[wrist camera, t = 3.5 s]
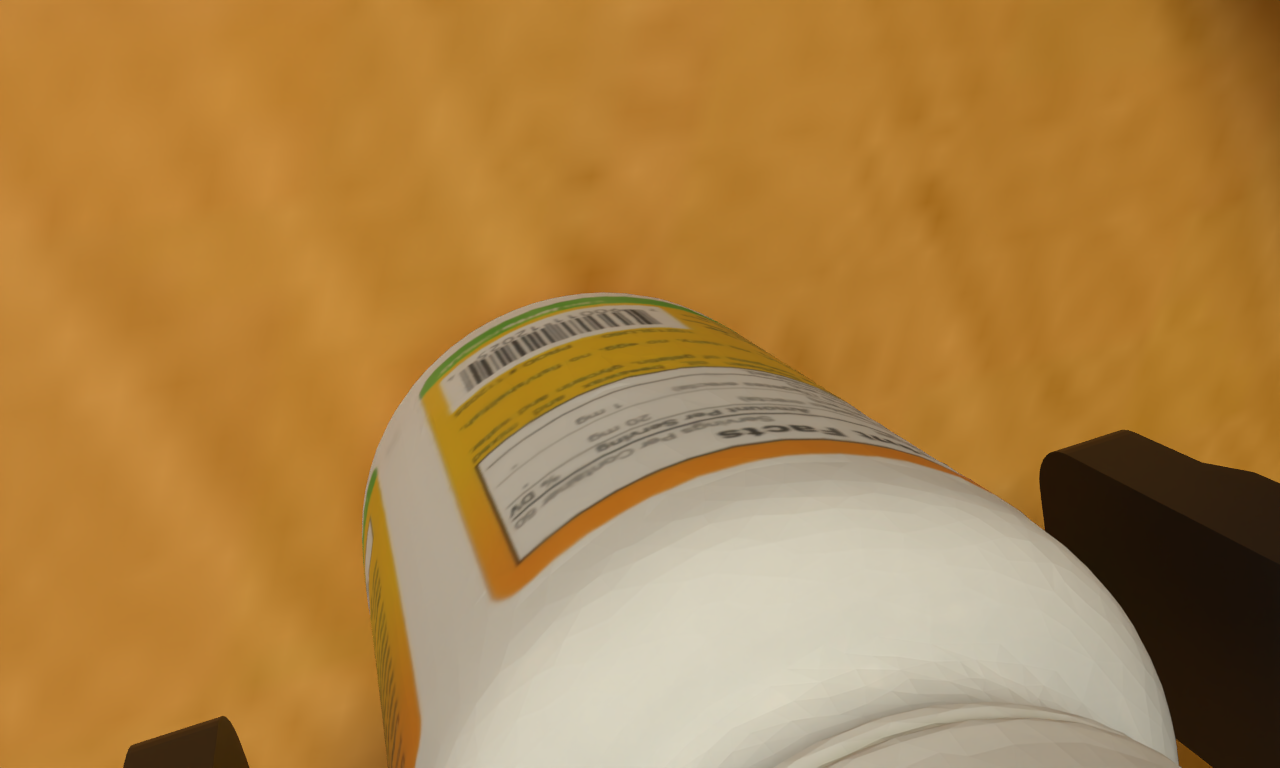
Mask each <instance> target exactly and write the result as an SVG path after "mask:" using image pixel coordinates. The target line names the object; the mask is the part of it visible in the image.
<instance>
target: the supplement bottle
mask: <svg viewBox="0 0 1280 768" xmlns="http://www.w3.org/2000/svg"><path fill="white" fill-rule="evenodd" d="M362 543H363V563H364V575H365V583H366V591H367V598H368V606H369V612H370V621H371V628H372V635H373V642H374V651H375V659H376V667H377V674H378V684H379V692H380V701H381V709H382V717H383V726H384V735H385V744H386V753H387V763H388V768H1182V767H1180V766H1179V762H1178V754H1177V746H1176V739H1175V734H1174V730H1173V725H1172V720H1171V716H1170V712H1169V708H1168V705H1167V701H1166V698H1165V694H1164V691H1163V687H1162V685H1161V683H1160V680H1159V678H1158V675H1157V673H1156V670H1155V668H1154V666H1153V663H1152V661H1151V658H1150V656H1149V654H1148V653H1147V651H1146V649H1145V647H1144V645H1143V643H1142V641H1141V639H1140V637H1139V636H1138V634H1137V632H1136V630H1135V628H1134V626H1133V624H1132V623H1131V621H1130V620H1129V618H1128V617H1127V615H1126V614H1125V612H1124V611H1123V609H1122V607H1121V606H1120V605H1119V603H1118V602H1117V601H1116V600H1115V598H1114V597H1113V596H1112V595H1111V593H1110V592H1109V591H1108V590H1107V589H1106V588H1105V587H1104V585H1103V584H1102V583H1101V582H1100V581H1099V580H1098V579H1097V578H1096V576H1095V575H1094V574H1093V573H1092V572H1091V571H1090V570H1089V569H1088V567H1087V566H1086V565H1084V564H1083V563H1082V562H1081V561H1080V560H1079V559H1078V558H1077V557H1076V556H1075V555H1074V554H1073V553H1072V552H1070V551H1069V550H1068V549H1067V548H1066V547H1065V546H1064V545H1063V544H1061V543H1060V542H1059V541H1057V540H1056V539H1055V538H1053V537H1052V536H1051V535H1049V534H1048V533H1047V532H1045V531H1044V530H1043V529H1041V528H1040V527H1039V526H1037V525H1036V524H1035V523H1033V522H1032V521H1031V520H1030V519H1028V518H1027V517H1026V516H1025V515H1024V514H1023V513H1022V512H1020V511H1019V510H1018V509H1016V508H1015V507H1013V506H1011V505H1010V504H1008V503H1007V502H1005V501H1004V500H1002V499H1001V498H999V497H997V496H996V495H994V494H993V493H991V492H989V491H988V490H986V489H985V488H983V487H981V486H980V485H978V484H977V483H975V482H974V481H972V480H971V479H969V478H967V477H965V476H963V475H961V474H959V473H957V472H956V471H954V470H953V469H952V468H950V467H949V466H947V465H946V464H944V463H941V462H939V461H938V460H936V459H934V458H932V457H931V456H929V455H928V454H926V453H925V452H923V451H922V450H920V449H918V448H917V447H915V446H914V445H912V444H911V443H909V442H907V441H906V440H904V439H903V438H901V437H899V436H898V435H896V434H894V433H893V432H891V431H890V430H888V429H887V428H885V427H884V426H882V425H881V424H879V423H877V422H876V421H874V420H872V419H870V418H869V417H867V416H866V415H864V414H863V413H861V412H860V411H859V410H857V409H856V408H854V407H853V406H851V405H850V404H848V403H847V402H846V401H844V400H842V399H841V398H839V397H837V396H835V395H834V394H832V393H830V392H829V391H827V390H826V389H824V388H823V387H821V386H819V385H817V384H816V383H815V382H813V381H812V380H810V379H809V378H807V377H806V376H804V375H802V374H801V373H799V372H797V371H796V370H794V369H792V368H791V367H790V366H788V365H786V364H785V363H783V362H781V361H780V360H778V359H777V358H775V357H774V356H772V355H771V354H769V353H767V352H766V351H764V350H763V349H761V348H759V347H758V346H756V345H755V344H753V343H752V342H750V341H748V340H747V339H745V338H744V337H742V336H740V335H739V334H737V333H736V332H734V331H732V330H731V329H729V328H727V327H725V326H723V325H722V324H720V323H718V322H716V321H714V320H712V319H711V318H709V317H707V316H705V315H703V314H701V313H699V312H696V311H694V310H691V309H689V308H687V307H684V306H682V305H678V304H675V303H672V302H669V301H666V300H662V299H658V298H653V297H646V296H639V295H633V294H626V293H584V294H577V295H569V296H563V297H558V298H553V299H548V300H544V301H540V302H537V303H533V304H530V305H527V306H524V307H522V308H519V309H516V310H514V311H511V312H509V313H507V314H505V315H503V316H500V317H498V318H496V319H494V320H492V321H490V322H488V323H486V324H485V325H483V326H481V327H480V328H478V329H476V330H475V331H473V332H471V333H470V334H468V335H467V336H466V337H464V338H463V339H462V340H460V341H459V342H458V343H456V344H455V345H454V346H452V347H451V348H450V349H449V350H447V351H446V352H445V353H444V354H443V355H442V356H441V357H440V358H438V359H437V360H436V361H435V362H434V363H433V364H432V365H431V366H430V367H429V368H428V369H427V370H426V371H425V372H424V374H423V375H422V376H421V377H420V378H419V379H418V380H417V382H416V383H415V384H414V385H413V387H412V388H411V389H410V391H409V392H408V394H407V395H406V397H405V398H404V399H403V401H402V402H401V404H400V405H399V407H398V408H397V410H396V411H395V413H394V415H393V416H392V418H391V420H390V422H389V423H388V426H387V428H386V430H385V432H384V434H383V436H382V439H381V441H380V443H379V445H378V448H377V450H376V453H375V456H374V460H373V463H372V466H371V469H370V473H369V477H368V482H367V486H366V491H365V498H364V506H363V521H362Z"/></svg>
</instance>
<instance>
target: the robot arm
mask: <svg viewBox="0 0 1280 768" xmlns="http://www.w3.org/2000/svg"><path fill="white" fill-rule="evenodd" d="M1039 480H1040V492H1041V500H1042V508H1043V516H1044V525H1045V532H1047V533H1048V534H1049V535H1051V536H1052V537H1053V538H1055V539H1056V540H1057V541H1059V542H1060V543H1061V544H1063V545H1064V546H1065V547H1066V548H1067V549H1068V550H1069V551H1070V552H1072V553H1073V554H1074V555H1075V556H1076V557H1077V558H1078V559H1079V560H1080V561H1081V562H1082V563H1083V564H1084V565H1086V566H1087V567H1088V569H1089V570H1090V571H1091V572H1092V573H1093V574H1094V575H1095V576H1096V578H1097V579H1098V580H1099V581H1100V582H1101V583H1102V584H1103V585H1104V587H1105V588H1106V589H1107V590H1108V591H1109V592H1110V593H1111V595H1112V596H1113V597H1114V598H1115V600H1116V601H1117V602H1118V603H1119V605H1120V606H1121V607H1122V609H1123V611H1124V612H1125V614H1126V615H1127V617H1128V618H1129V620H1130V621H1131V623H1132V624H1133V626H1134V628H1135V630H1136V632H1137V634H1138V636H1139V637H1140V639H1141V641H1142V643H1143V645H1144V647H1145V649H1146V651H1147V653H1148V654H1149V656H1150V658H1151V661H1152V663H1153V666H1154V668H1155V670H1156V673H1157V675H1158V678H1159V680H1160V683H1161V685H1162V687H1163V691H1164V694H1165V698H1166V701H1167V705H1168V708H1169V712H1170V716H1171V720H1172V725H1173V730H1174V734H1175V738H1176V739H1177V740H1178V741H1180V742H1181V743H1182V744H1184V745H1185V746H1186V747H1188V748H1189V749H1190V750H1191V751H1193V752H1194V753H1195V754H1197V755H1198V756H1199V757H1200V758H1202V759H1203V760H1204V761H1206V762H1207V763H1208V764H1209V765H1211V766H1212V767H1213V768H1280V483H1277V482H1275V481H1273V480H1271V479H1268V478H1266V477H1264V476H1261V475H1259V474H1257V473H1254V472H1249V471H1244V470H1239V469H1233V468H1228V467H1223V466H1217V465H1212V464H1207V463H1202V462H1199V461H1197V460H1195V459H1193V458H1190V457H1188V456H1186V455H1184V454H1181V453H1179V452H1177V451H1175V450H1173V449H1170V448H1168V447H1166V446H1164V445H1161V444H1159V443H1157V442H1155V441H1152V440H1150V439H1148V438H1146V437H1143V436H1141V435H1139V434H1137V433H1135V432H1132V431H1129V430H1120V431H1117V432H1113V433H1110V434H1107V435H1104V436H1101V437H1098V438H1095V439H1092V440H1088V441H1085V442H1082V443H1079V444H1076V445H1073V446H1070V447H1067V448H1064V449H1060V450H1057V451H1054V452H1051V453H1049V454H1048V455H1046V457H1045V458H1044V459H1043V462H1042V464H1041V468H1040V478H1039ZM123 768H249V765H248V762H247V759H246V757H245V754H244V751H243V748H242V746H241V743H240V741H239V738H238V736H237V734H236V731H235V729H234V727H233V726H232V724H231V722H230V721H229V720H228V719H227V718H226V717H225V716H221V717H218V718H215V719H212V720H209V721H206V722H203V723H199V724H196V725H193V726H190V727H187V728H184V729H181V730H178V731H175V732H171V733H168V734H165V735H162V736H159V737H156V738H153V739H150V740H146V741H143V742H140V743H137V744H134V745H132V746H130V748H129V749H128V752H127V755H126V759H125V763H124V767H123Z"/></svg>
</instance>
